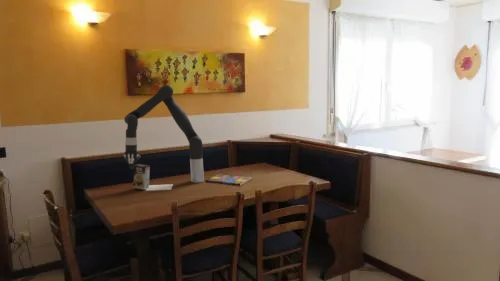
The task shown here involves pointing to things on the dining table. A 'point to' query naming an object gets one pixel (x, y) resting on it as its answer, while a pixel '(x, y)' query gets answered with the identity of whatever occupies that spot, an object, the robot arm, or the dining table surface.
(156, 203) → the dining table surface
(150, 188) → the mat
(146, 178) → the coffee box
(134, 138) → the robot arm
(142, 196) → the dining table surface
